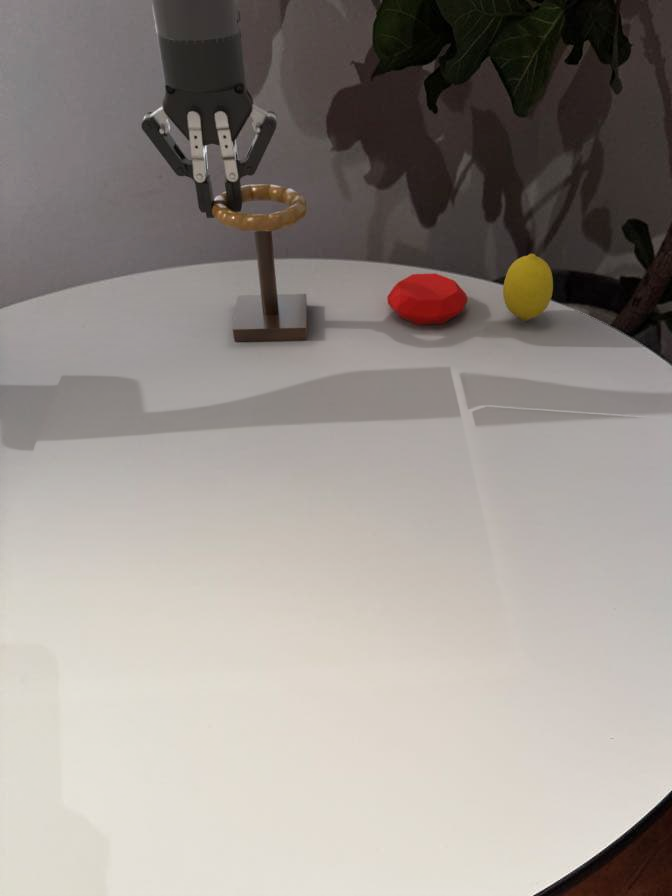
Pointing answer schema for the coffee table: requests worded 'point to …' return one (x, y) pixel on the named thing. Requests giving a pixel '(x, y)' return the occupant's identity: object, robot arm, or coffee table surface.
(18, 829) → the coffee table surface
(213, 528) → the coffee table surface
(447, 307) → the gemstone
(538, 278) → the lemon
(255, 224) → the ring
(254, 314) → the peg stand
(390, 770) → the coffee table surface
